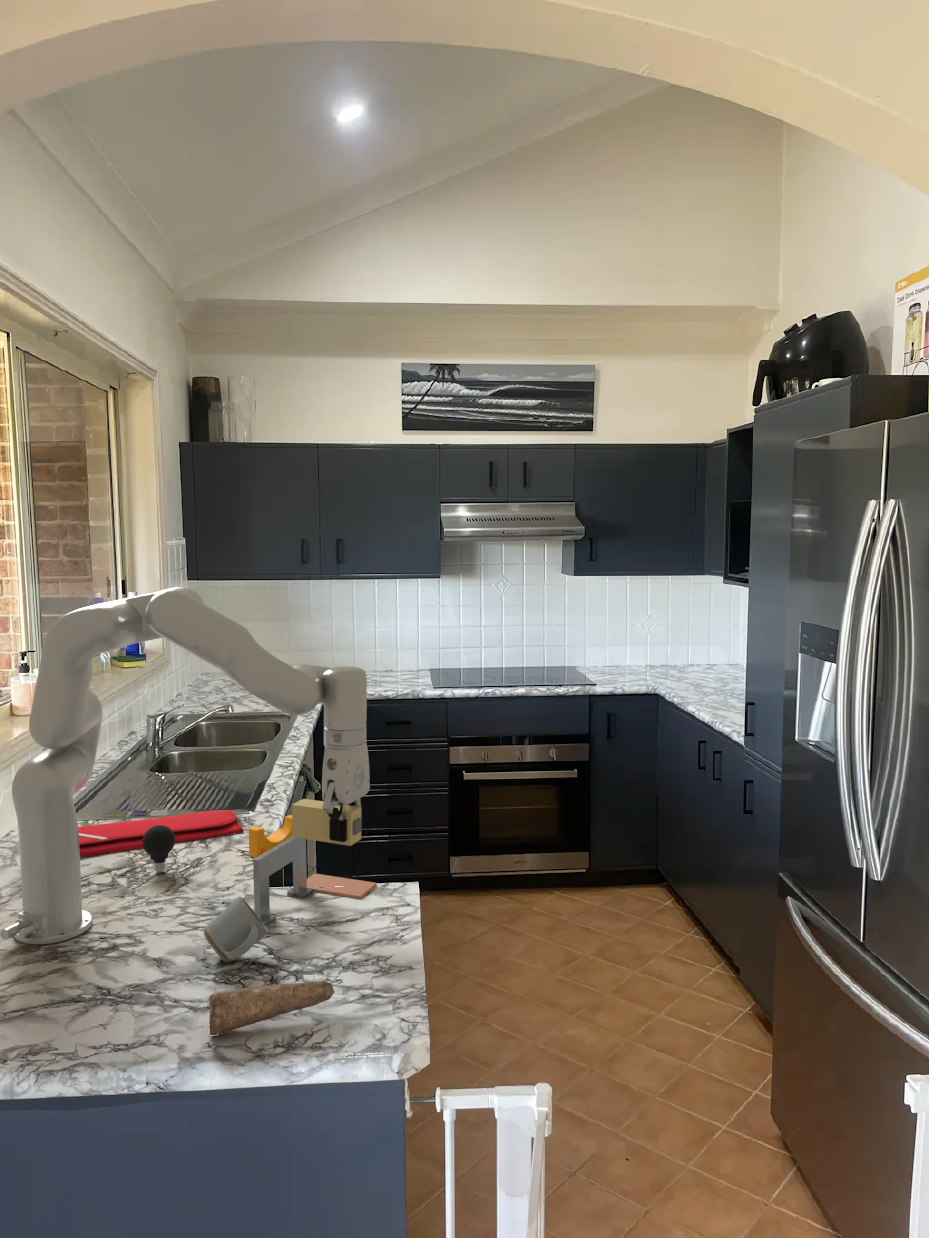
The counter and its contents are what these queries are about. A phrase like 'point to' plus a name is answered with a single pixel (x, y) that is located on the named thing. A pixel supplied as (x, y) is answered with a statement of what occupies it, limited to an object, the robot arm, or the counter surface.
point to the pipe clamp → (268, 838)
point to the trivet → (353, 890)
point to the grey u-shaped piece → (273, 862)
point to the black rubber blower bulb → (158, 845)
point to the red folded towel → (132, 832)
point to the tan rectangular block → (323, 822)
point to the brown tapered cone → (262, 1003)
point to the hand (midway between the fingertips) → (344, 835)
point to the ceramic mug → (235, 930)
